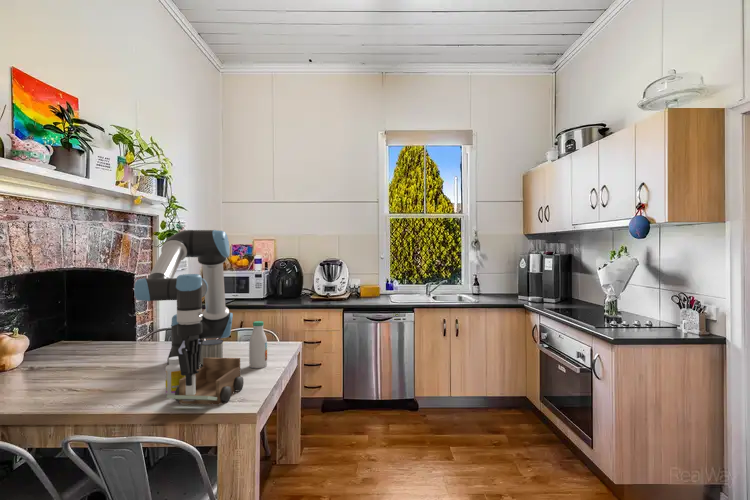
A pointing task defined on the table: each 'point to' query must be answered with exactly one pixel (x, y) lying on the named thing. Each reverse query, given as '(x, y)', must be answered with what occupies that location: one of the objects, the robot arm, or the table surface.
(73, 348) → the table surface
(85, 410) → the table surface
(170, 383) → the supplement bottle
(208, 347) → the milk frother
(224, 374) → the tray
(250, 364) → the milk bottle
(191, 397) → the panel
